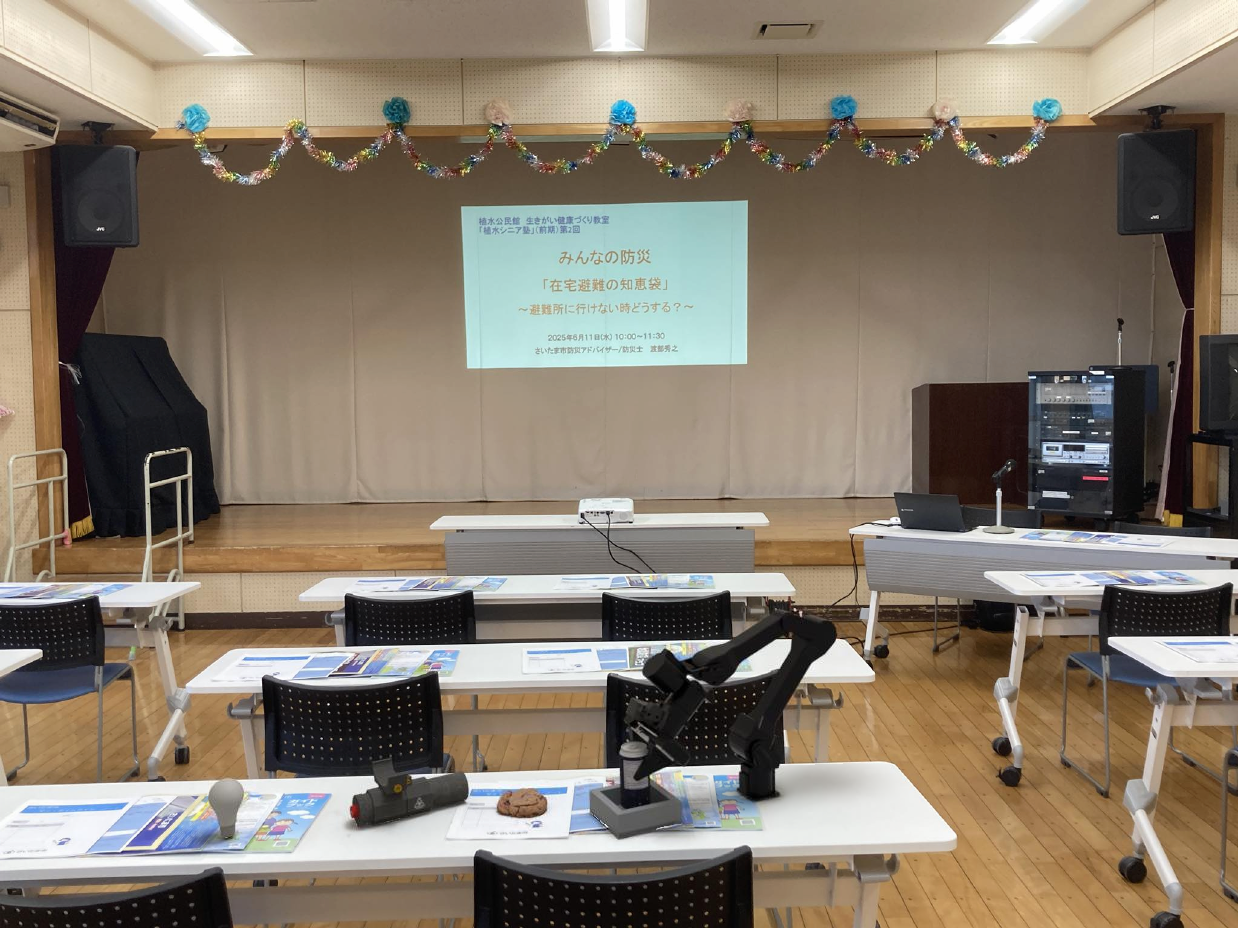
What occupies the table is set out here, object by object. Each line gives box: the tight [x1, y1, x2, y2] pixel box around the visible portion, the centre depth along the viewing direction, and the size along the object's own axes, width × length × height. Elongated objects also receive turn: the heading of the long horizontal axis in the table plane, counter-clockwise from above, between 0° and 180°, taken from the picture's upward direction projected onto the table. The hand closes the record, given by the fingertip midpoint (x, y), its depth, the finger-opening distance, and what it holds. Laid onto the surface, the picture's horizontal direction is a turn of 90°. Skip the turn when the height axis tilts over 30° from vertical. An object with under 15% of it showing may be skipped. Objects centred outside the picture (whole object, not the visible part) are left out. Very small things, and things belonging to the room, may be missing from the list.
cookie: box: [496, 787, 548, 819], centre depth 189 cm, size 10×11×3 cm
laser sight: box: [349, 757, 470, 828], centre depth 187 cm, size 10×22×10 cm, turn 122°
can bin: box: [589, 777, 683, 840], centre depth 183 cm, size 13×13×4 cm
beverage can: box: [618, 741, 651, 810], centre depth 182 cm, size 6×6×12 cm
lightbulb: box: [207, 777, 245, 838], centre depth 178 cm, size 6×6×11 cm
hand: (628, 774), depth 182 cm, fingers open, 6 cm apart
